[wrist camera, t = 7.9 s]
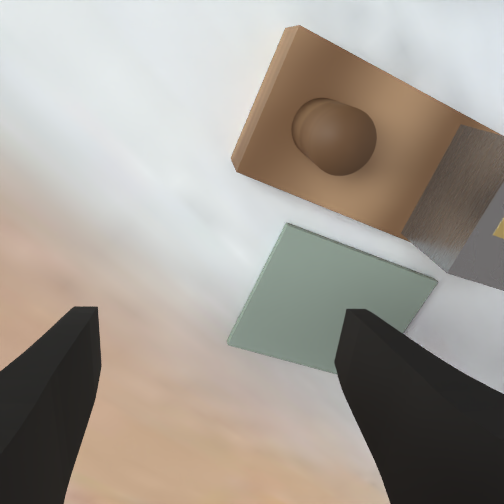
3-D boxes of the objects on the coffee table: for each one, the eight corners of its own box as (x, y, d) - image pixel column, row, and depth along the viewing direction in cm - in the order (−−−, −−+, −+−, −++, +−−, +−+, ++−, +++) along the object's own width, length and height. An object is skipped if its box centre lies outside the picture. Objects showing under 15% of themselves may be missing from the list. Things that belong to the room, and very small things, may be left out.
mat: (434, 278, 25) (438, 282, 24) (366, 378, 27) (369, 382, 27) (286, 222, 22) (287, 225, 21) (227, 340, 25) (227, 345, 24)
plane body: (570, 181, 23) (674, 216, 18) (504, 270, 25) (581, 324, 20) (285, 28, 18) (323, 20, 13) (230, 157, 20) (245, 193, 15)
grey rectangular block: (515, 148, 19) (592, 171, 15) (453, 250, 21) (508, 292, 17) (460, 124, 18) (527, 142, 15) (400, 233, 20) (447, 272, 17)
